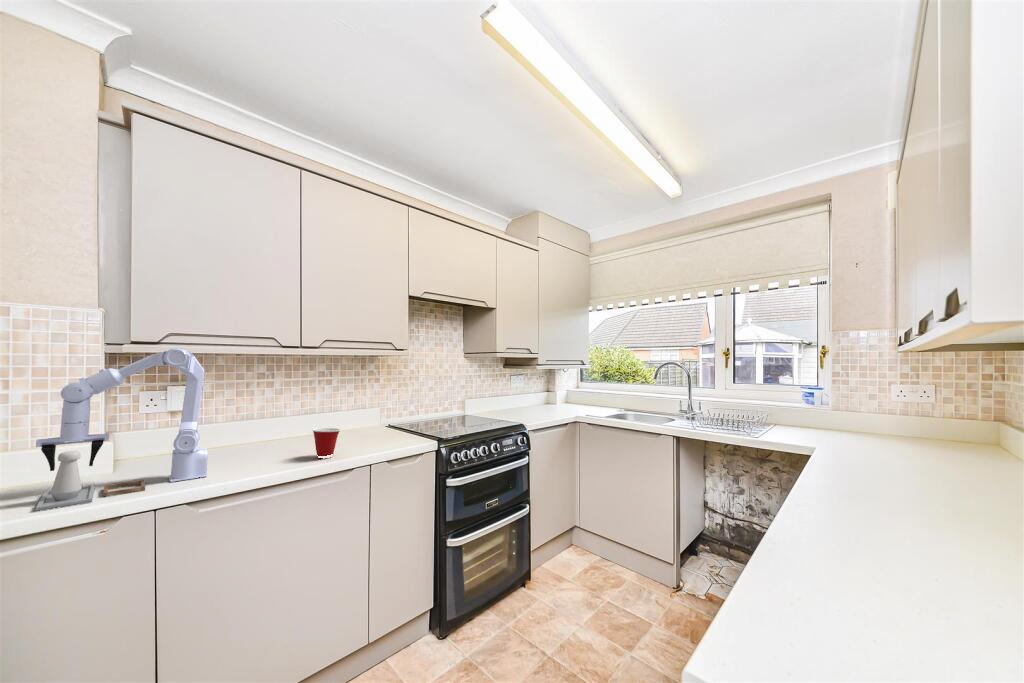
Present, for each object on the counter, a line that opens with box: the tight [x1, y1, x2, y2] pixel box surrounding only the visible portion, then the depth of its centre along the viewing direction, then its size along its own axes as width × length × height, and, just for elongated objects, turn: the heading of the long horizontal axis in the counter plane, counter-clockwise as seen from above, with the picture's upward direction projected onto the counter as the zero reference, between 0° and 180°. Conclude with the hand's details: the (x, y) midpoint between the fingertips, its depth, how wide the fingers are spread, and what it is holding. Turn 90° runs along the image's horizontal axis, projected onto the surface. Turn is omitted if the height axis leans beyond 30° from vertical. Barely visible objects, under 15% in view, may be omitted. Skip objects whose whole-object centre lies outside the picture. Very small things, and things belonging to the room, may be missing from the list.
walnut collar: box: [102, 479, 146, 498], centre depth 119 cm, size 9×9×1 cm
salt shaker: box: [50, 450, 83, 501], centre depth 110 cm, size 6×6×13 cm
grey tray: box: [35, 484, 96, 512], centre depth 111 cm, size 10×16×1 cm, turn 45°
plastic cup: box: [311, 427, 341, 456], centre depth 163 cm, size 11×11×12 cm
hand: (72, 467), depth 117 cm, fingers open, 7 cm apart
